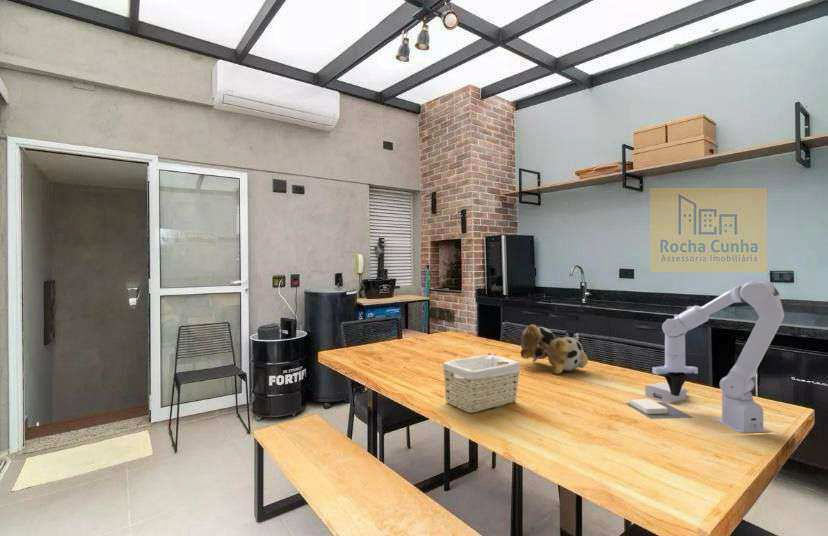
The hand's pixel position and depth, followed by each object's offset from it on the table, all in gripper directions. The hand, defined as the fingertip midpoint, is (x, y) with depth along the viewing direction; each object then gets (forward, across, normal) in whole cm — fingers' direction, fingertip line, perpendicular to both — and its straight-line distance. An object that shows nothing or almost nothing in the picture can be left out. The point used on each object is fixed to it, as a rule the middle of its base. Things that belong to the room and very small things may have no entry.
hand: (675, 394), depth 133 cm
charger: (+5, -7, -12) cm, 15 cm away
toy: (+5, +20, -55) cm, 59 cm away
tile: (+3, +6, 0) cm, 7 cm away
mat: (+5, +7, +1) cm, 9 cm away
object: (+5, +63, -12) cm, 64 cm away
